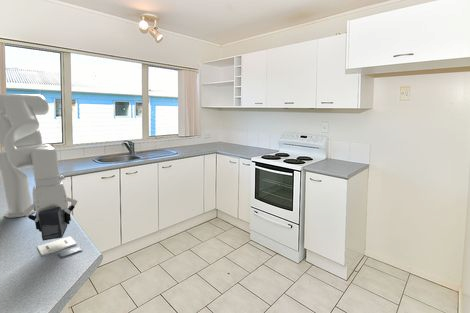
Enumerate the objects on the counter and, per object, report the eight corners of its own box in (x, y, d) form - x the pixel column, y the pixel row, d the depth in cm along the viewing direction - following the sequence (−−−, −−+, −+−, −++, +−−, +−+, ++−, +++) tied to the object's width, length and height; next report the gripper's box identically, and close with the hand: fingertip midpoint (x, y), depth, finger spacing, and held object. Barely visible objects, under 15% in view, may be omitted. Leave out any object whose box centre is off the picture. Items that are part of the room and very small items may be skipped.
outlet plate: (37, 247, 103) (37, 245, 103) (70, 237, 110) (70, 236, 110) (41, 255, 97) (41, 254, 97) (76, 244, 105) (76, 243, 105)
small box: (48, 228, 106) (45, 203, 104) (67, 226, 109) (64, 200, 107) (41, 241, 97) (37, 213, 95) (62, 237, 99) (58, 210, 97)
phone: (57, 256, 98) (57, 253, 97) (79, 249, 103) (78, 246, 102) (60, 260, 95) (60, 257, 95) (82, 252, 100) (82, 249, 100)
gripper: (72, 175, 107) (77, 217, 111) (16, 184, 96) (23, 231, 99) (77, 178, 102) (83, 222, 105) (19, 189, 90) (27, 238, 94)
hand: (54, 226), depth 102 cm, fingers closed on small box, 8 cm apart
